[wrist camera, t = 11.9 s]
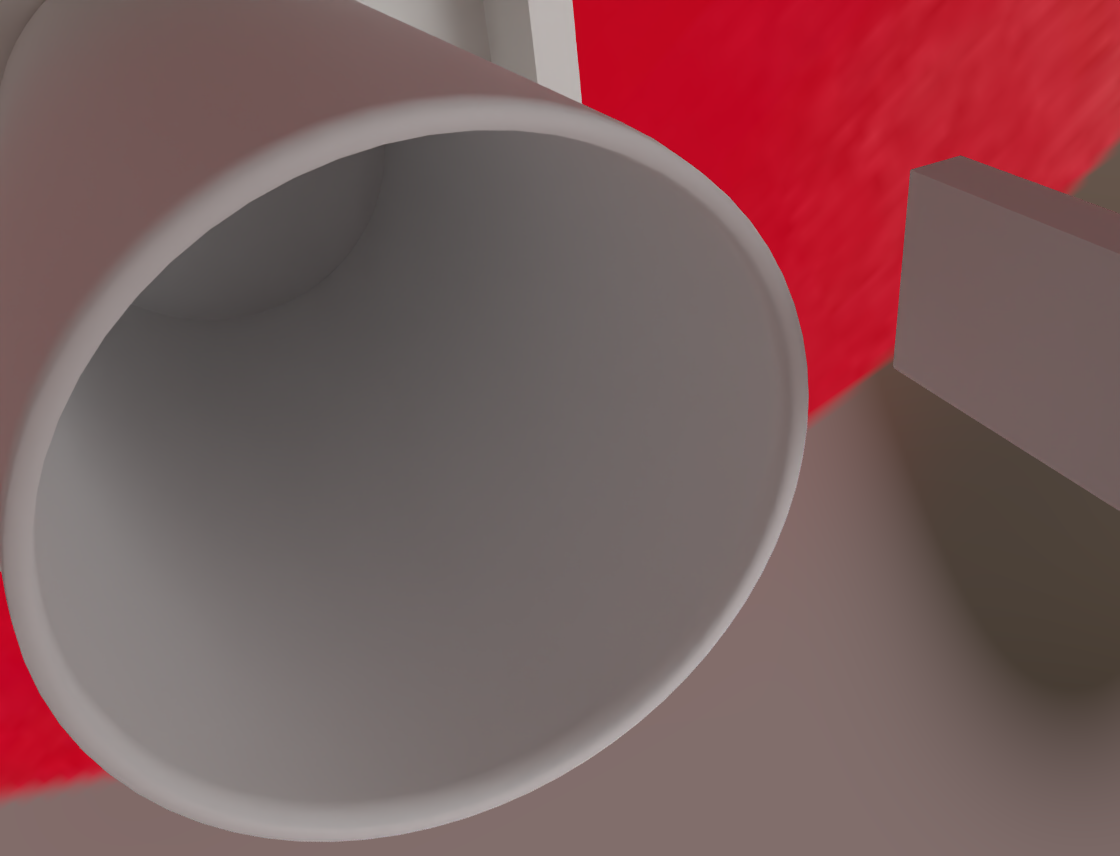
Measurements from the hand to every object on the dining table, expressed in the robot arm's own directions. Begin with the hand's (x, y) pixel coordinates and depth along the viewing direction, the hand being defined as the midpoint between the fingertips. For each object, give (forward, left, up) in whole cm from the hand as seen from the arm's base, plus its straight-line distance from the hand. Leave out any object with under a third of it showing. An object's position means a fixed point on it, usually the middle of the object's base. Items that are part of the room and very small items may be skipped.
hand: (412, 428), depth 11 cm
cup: (0, 0, -15) cm, 15 cm away
